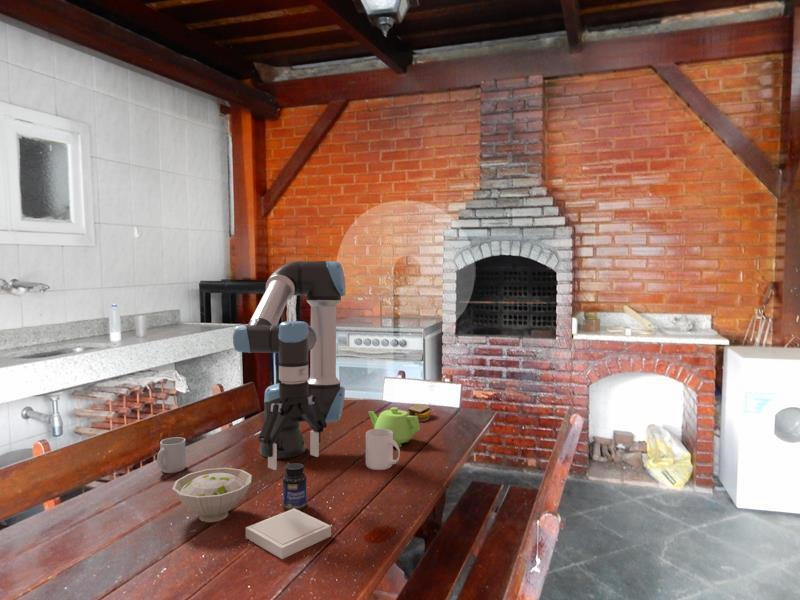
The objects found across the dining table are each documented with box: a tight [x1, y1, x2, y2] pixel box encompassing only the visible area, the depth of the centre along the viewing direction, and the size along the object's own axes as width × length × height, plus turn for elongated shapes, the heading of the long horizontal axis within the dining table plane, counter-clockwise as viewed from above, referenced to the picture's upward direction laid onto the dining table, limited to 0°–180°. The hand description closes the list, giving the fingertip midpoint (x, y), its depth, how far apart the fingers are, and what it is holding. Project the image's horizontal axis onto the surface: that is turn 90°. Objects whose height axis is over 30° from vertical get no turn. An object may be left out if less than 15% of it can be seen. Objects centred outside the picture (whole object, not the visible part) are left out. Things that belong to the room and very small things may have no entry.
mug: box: [365, 428, 401, 471], centre depth 177 cm, size 9×12×11 cm
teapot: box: [368, 406, 421, 448], centre depth 201 cm, size 20×13×13 cm
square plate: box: [245, 508, 332, 560], centre depth 132 cm, size 14×14×3 cm
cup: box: [156, 436, 187, 474], centre depth 173 cm, size 7×10×9 cm
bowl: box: [171, 467, 253, 523], centre depth 142 cm, size 19×19×10 cm
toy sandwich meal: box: [407, 403, 432, 423], centre depth 233 cm, size 12×14×5 cm
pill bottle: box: [282, 462, 307, 511], centre depth 148 cm, size 6×6×11 cm
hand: (294, 461), depth 147 cm, fingers open, 13 cm apart
